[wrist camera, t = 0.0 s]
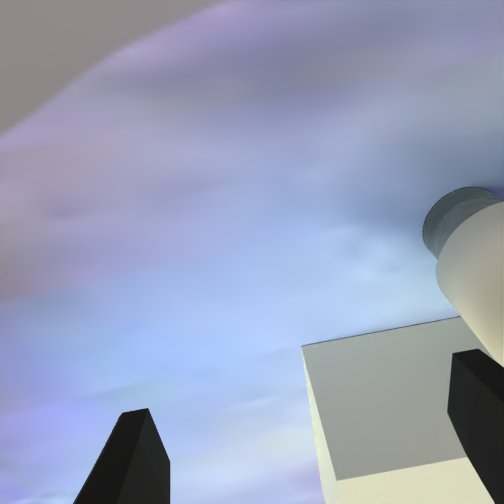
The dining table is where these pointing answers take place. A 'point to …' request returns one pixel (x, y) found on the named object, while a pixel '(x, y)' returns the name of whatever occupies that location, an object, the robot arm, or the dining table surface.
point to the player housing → (390, 417)
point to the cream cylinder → (477, 276)
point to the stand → (453, 215)
